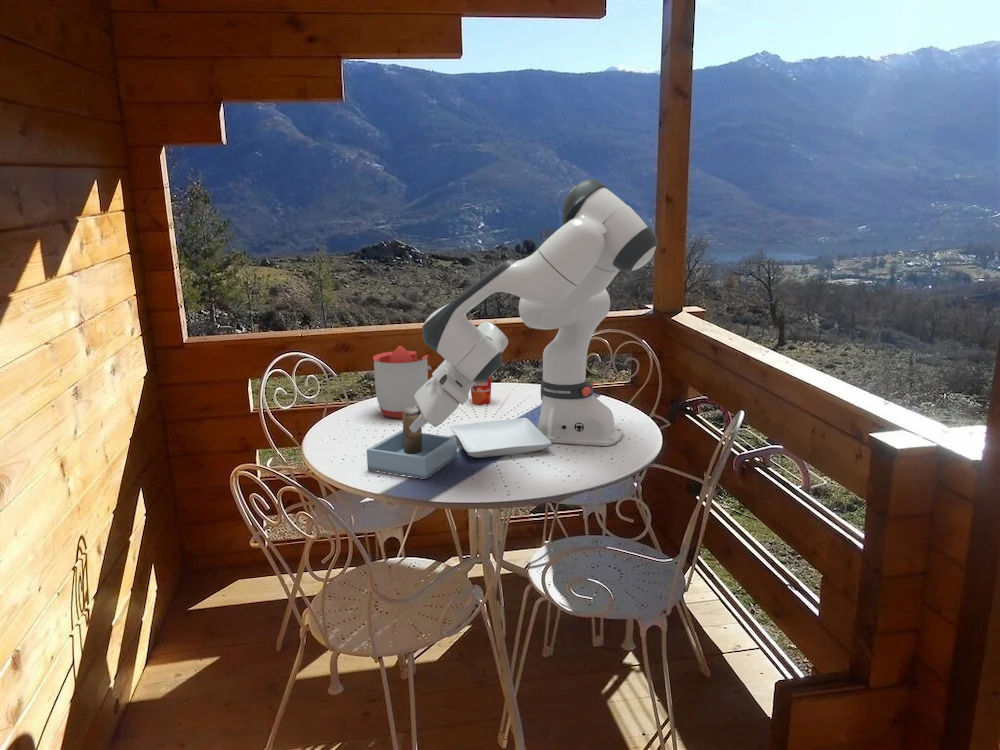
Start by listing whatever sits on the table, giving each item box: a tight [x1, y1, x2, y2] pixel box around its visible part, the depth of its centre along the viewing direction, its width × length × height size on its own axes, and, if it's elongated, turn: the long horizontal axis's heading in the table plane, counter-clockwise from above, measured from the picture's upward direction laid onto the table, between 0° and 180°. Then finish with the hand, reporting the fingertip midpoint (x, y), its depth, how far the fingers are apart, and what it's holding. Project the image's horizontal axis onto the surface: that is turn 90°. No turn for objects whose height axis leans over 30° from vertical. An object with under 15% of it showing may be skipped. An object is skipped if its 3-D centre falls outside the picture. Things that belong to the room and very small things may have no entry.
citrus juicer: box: [372, 345, 432, 420], centre depth 195 cm, size 16×17×20 cm
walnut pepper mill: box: [402, 407, 423, 454], centre depth 155 cm, size 4×4×10 cm
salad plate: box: [449, 417, 552, 458], centre depth 170 cm, size 21×21×3 cm
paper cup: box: [470, 374, 493, 406], centre depth 206 cm, size 8×8×14 cm
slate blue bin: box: [366, 429, 458, 480], centre depth 157 cm, size 15×15×5 cm
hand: (409, 426), depth 155 cm, fingers closed on walnut pepper mill, 4 cm apart
